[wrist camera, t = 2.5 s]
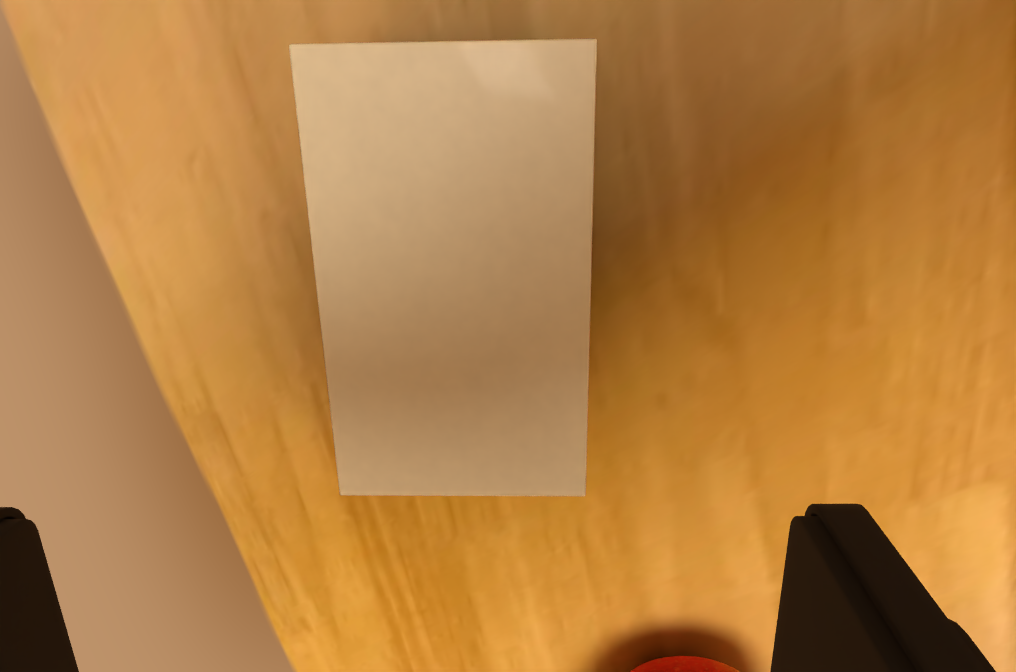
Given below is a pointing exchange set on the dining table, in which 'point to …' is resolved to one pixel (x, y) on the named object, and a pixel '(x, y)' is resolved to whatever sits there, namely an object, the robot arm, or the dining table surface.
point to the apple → (684, 665)
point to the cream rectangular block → (452, 259)
